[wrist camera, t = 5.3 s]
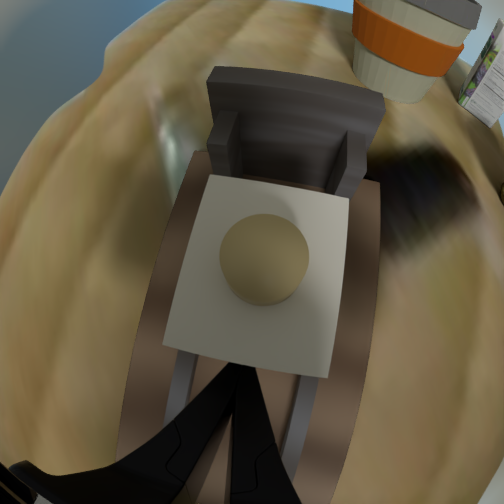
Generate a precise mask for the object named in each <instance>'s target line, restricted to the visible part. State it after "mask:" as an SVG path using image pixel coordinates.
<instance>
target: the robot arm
mask: <svg viewBox="0 0 504 504" xmlns="http://www.w3.org/2000/svg"><path fill="white" fill-rule="evenodd" d="M231 415H232V417H231ZM230 418H231V426H230V438H229V449H228V461H227V472H226V484H225V496H224V504H302V502H301V500H300V498H299V496H298V494H297V492H296V490H295V488H294V486H293V484H292V482H291V480H290V478H289V476H288V474H287V472H286V469H285V467H284V464H283V462H282V459H281V456H280V453H279V450H278V446H277V443H276V440H275V436H274V433H273V429H272V426H271V422H270V419H269V415H268V411H267V408H266V404H265V400H264V397H263V393H262V389H261V386H260V382H259V378H258V375H257V371H256V367H252V366H247V365H242V364H237V363H232V362H228V363H227V364H226V365H225V366H224V367H223V369H222V370H221V371H220V372H219V373H218V374H217V375H216V376H215V377H214V378H213V379H212V380H211V381H210V382H209V383H208V384H207V385H206V386H205V387H204V388H203V389H202V390H201V392H200V393H199V394H198V395H197V396H196V397H195V398H194V399H193V400H192V401H191V402H190V403H189V404H188V405H187V406H186V407H185V408H184V409H183V410H182V411H181V412H180V413H179V414H178V415H177V416H176V417H175V418H174V420H171V421H170V422H169V423H168V424H167V425H166V426H165V427H164V428H163V429H162V430H161V431H160V432H158V433H157V434H156V435H155V436H154V437H152V438H151V439H150V440H148V441H147V442H146V443H144V444H143V445H141V446H140V447H138V448H137V449H136V450H134V451H133V452H131V453H130V454H128V455H127V456H125V457H124V458H122V459H120V460H119V461H117V462H115V463H113V464H111V465H109V466H107V467H103V468H99V469H95V470H90V471H85V472H80V473H74V474H68V475H61V476H55V475H50V474H47V473H45V472H43V471H41V470H40V469H39V468H37V467H36V466H35V465H33V464H32V463H30V462H29V461H27V460H25V461H21V462H18V463H15V464H13V465H12V466H10V467H9V469H7V468H6V467H5V466H4V465H3V464H2V463H1V462H0V504H195V503H196V500H197V498H198V496H199V494H200V491H201V489H202V487H203V484H204V482H205V480H206V477H207V475H208V473H209V470H210V468H211V465H212V463H213V461H214V458H215V456H216V453H217V451H218V448H219V446H220V443H221V441H222V439H223V436H224V434H225V431H226V428H227V426H228V423H229V421H230ZM36 492H37V493H36Z"/></svg>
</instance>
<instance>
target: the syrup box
mask: <svg viewBox="0 0 504 504" xmlns="http://www.w3.org/2000/svg"><path fill="white" fill-rule="evenodd" d="M458 103H459V104H460V105H461V106H462V107H464V108H465V109H466V110H468V111H469V112H470V113H472V114H473V115H474V116H476V117H477V118H478V119H479V120H481V121H482V122H483V123H484V124H486V125H487V126H488V127H489V128H491V127H492V126H493V125H494V123H495V122H496V121H497V120H498V118H499V117H500V116H501V114H502V113H503V112H504V21H503V20H502V19H498V21H497V23H496V26H495V28H494V30H493V32H492V33H491V35H490V37H489V39H488V41H487V43H486V44H485V46H484V48H483V50H482V51H481V53H480V55H479V57H478V59H477V61H476V62H475V64H474V66H473V67H472V69H471V71H470V73H469V74H468V76H467V78H466V80H465V81H464V83H463V85H462V86H461V89H460V94H459V101H458Z"/></svg>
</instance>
